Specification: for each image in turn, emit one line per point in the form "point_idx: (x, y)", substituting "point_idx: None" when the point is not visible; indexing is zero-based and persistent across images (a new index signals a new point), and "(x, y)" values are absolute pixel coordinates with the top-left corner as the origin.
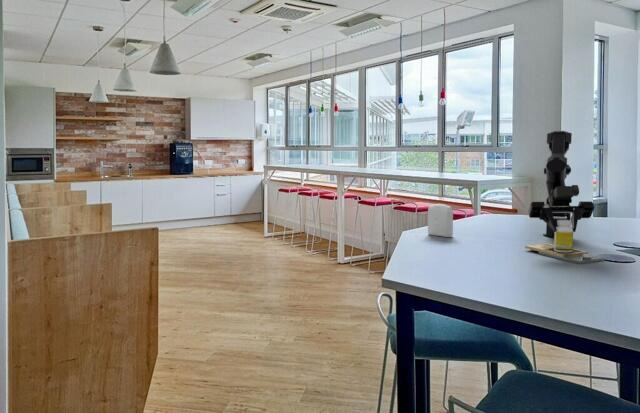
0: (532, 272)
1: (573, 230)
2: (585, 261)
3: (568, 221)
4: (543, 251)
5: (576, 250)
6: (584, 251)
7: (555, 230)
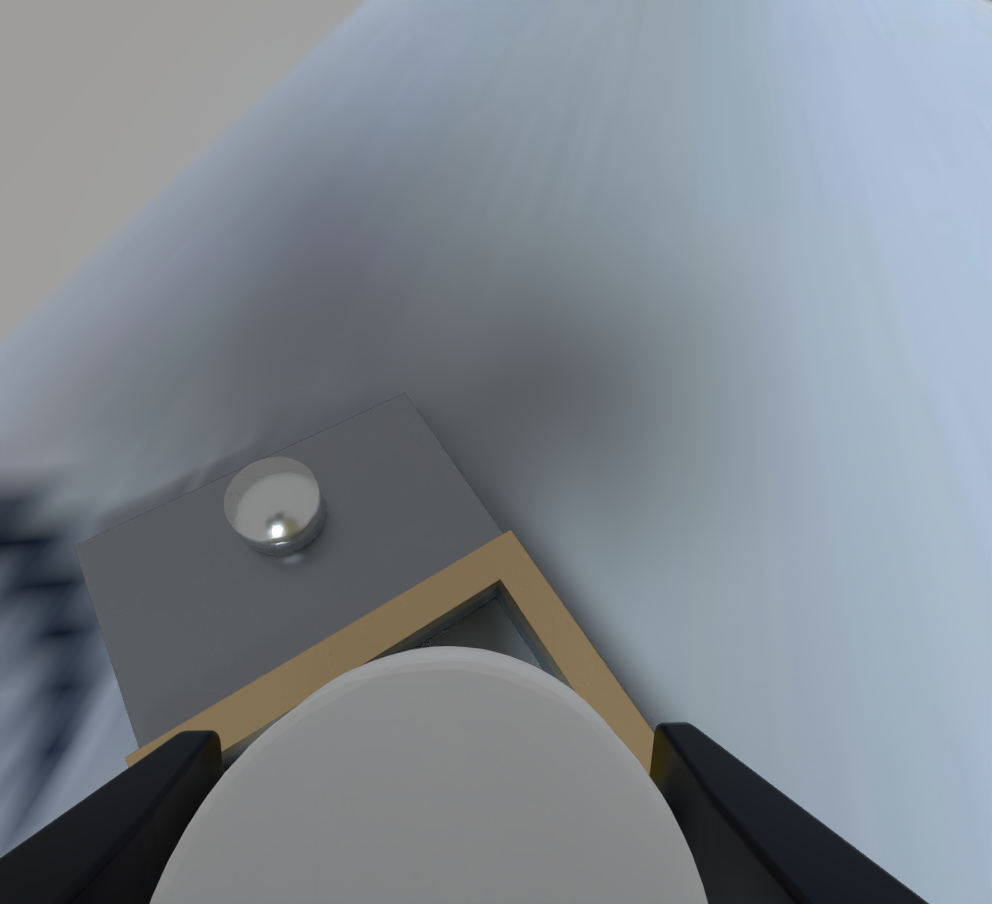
0: (758, 206)
1: None
2: (342, 427)
3: (340, 681)
4: None
5: None
6: None
7: (667, 732)
